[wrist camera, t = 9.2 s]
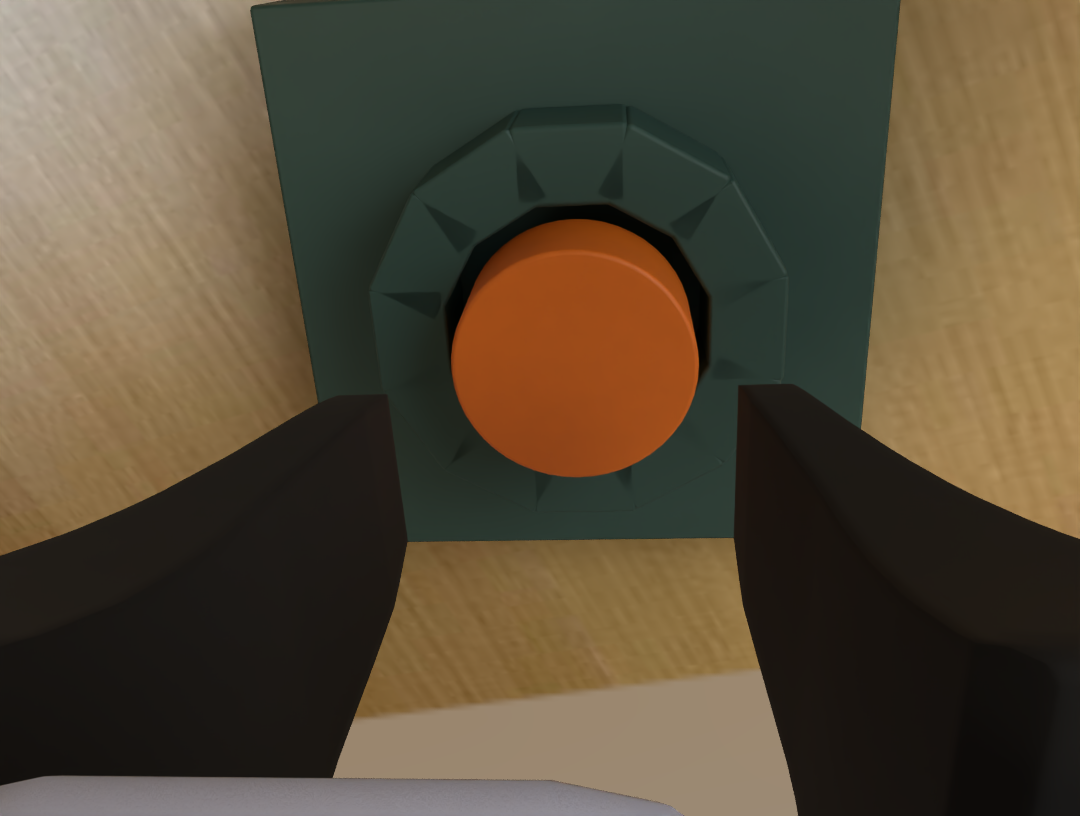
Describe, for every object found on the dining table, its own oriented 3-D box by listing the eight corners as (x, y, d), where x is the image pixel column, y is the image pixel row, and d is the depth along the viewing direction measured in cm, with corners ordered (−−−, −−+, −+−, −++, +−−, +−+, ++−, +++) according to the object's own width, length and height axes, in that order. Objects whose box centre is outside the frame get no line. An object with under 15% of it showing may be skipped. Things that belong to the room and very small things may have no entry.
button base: (834, 492, 20) (874, 594, 17) (361, 499, 21) (317, 598, 18) (876, -37, 16) (942, -32, 13) (281, -1, 17) (203, 13, 14)
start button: (689, 425, 16) (698, 477, 15) (476, 429, 17) (462, 481, 15) (691, 213, 15) (700, 245, 13) (456, 222, 15) (438, 254, 13)
